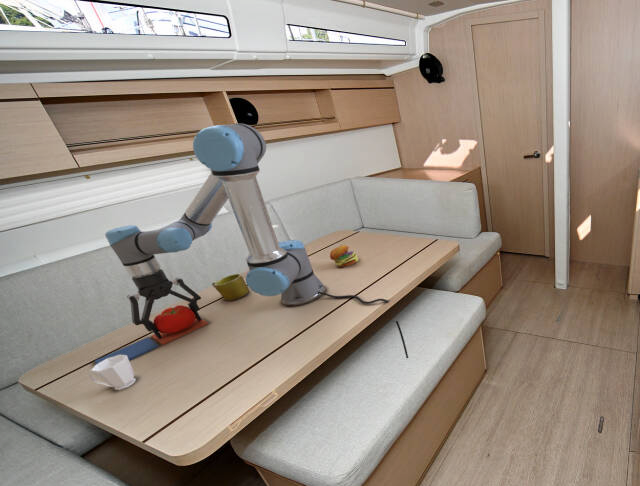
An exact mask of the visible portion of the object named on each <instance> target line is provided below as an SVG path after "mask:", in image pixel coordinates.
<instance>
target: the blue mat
mask: <svg viewBox="0 0 640 486" xmlns="http://www.w3.org/2000/svg"><path fill="white" fill-rule="evenodd" d="M157 348H159V345H158V344H157V343H156V342H155V341H153V340H152V339H150V338H149V337H145V338H143V339H141V340H138V341H136V342H134V343H131V344H130V345H127V346H124V347H123V348H120V349H118V350H115V351H114V352H111V353H108V354H106V355H104V356H102V357H100V358H97V359H95V360H94V363H95V365H96V364H98V363H100V362H102V361H103V360H105V359H107V358H110V357H114V356H117V355H127V357H128V359H129V361H131V360H134V359H136V358H138V357H140V356H143V355H144V354H147V353H148V352H151V351H153V350H155V349H157Z"/></svg>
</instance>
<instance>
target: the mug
mask: <svg viewBox="0 0 640 486" xmlns="http://www.w3.org/2000/svg"><path fill="white" fill-rule="evenodd" d="M211 285H212V287H213V288H214V289H216V291H217V292H218V293H219V294H220V295H221V297H222V299H224V300H225V301H236V300H239V299H240V298H242V297H244V296H246V295H247V294H248V293H249V292H250V288H249V287H248V285H247V283H246V280H245V279H244V277H243V276H242V274H240V273H235V274H230V275H227V276H225V277H223V278H221V279H219V280H218V279H217V280H215V281H214V282H212V283H211Z"/></svg>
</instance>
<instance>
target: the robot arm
mask: <svg viewBox="0 0 640 486" xmlns="http://www.w3.org/2000/svg"><path fill="white" fill-rule="evenodd" d="M192 149H193V153H194V155H195V157H196V158H197V160H198V161H199V163H201V164H202V165H204V166H205V167H206V168H208V169H209V170H210V171H211V173H210V174H209V176H208V177H207V178H206V180H205V182H203V184H202V186H201V188H200V189H199V191H197V193H196V195H195V197H194V198H193V199H192V201H191V203H190V204H189V205H188V206H187V208H186V209H185V212H184V213H183V214H182V215H181V217H180V218H179V219H178V220H176V221H174V222H172V223H170V224H168V225H165V226H163V227H161V228H158V229H154V230H147V231H146V230H145V231H142V230H141V229H140V228H139V227H138V226H137V225H133V224H131V225H124V226H119V227H115V228H112V229H109V230H107V231H106V232H105V238H106V240H107V242H108V244H109V247H110V248H111V249H112V250H113V252H114V253H115V255H116V256H117V257H118V259H119V261H120V262H121V264H122V266H123V267H124V269H125V270H126V272H127V274H128V276H129V277H131V280H132V282H133V284H134V285H135V287H136V288H137V292H136V293H133V294H128V295H126V298H127V299H128V301H129V302H130V310H131V322H132V323H133V324H134V325H135V326H140V325H143V327H144V328H145V329H146V330H147V332H150V333H151V332H153V333H154V334H155V335H156V337H158V338H159V339H160V338H162V336H161V335H160V333H159V331H158V330H157V328H156V327H155V325H154V324H153V322H154V321H153V320H150V318H151V313H152V309H153V306H154V304H155V301H158V300H160V299H162V298H164V297H167V296H169V295H171V296H174V297H176V298H179V299H181V300H183V301H186V302H188V303H187V307H189V308H190V309H191V310H192V311H193V312H194V314H195V316H196V317H195V318H196V319H197V320H199V321H200V320H203V319H202V317H201V316H200V314H199V312H198V311H200V310H201V308H200V306H199V305H198V301H199V300H201V299H202V297H201V295H199V294H198V293H197V292H196V291H194V290H193V289H191V288H190V287H189V286H188V285H186V283H185V282H184V280H183V278H180V277H175V279H171V280H170V279H168V277H167V275H166V273H165V271H164V269H162V268H161V267H162V266H161V265H160V263H159V261H158V259H157V257H155V255H160V254H169V253H170V254H171V253H173V254H174V253H178V252H182V251H187V250H188V249H190V248H191V245H192V243H193V242H194V241H196V240H197V239H199V238H200V237H201V238H202V237H204V236H205V235H207V233H209V232H210V231H211V230H212V228H213V222H214V219H216V217H217V215H218V214H219V212H220V211H221V210H222V208H223V207H224V206H225V204H226V203H227V201H229V203H230V207H231V209H232V211H233V214H234V217H235V219H236V222H237V224H238V228H239V230H240V232H241V235H242V238H243V240H244V243H245V246H246V248H247V251H248V253H249V254H248V255H247V257H246V259H245V261H246V264H247V267H248V269H249V270H248V272H247V273H246V276H245V283H246V285H247V287H248V288H249V290H251V291H252V292H253V293H255V294H258V295H260V296H264V297H275V296H279V295H280V300H281V302H282V304H283V305H284V306H288V307H289V306H290V307H294V306H302V305H306V304H308V303H310V302H313V301H316V300H317V299H319V298H321V297H322V296H327V297H329V298H333V299H346V298H355V299H357V300H358V301H359V302H360V303H362V304H366V305H368V304H373V303H377V302H384V303H389V301H388V300H387V299H385V298H377V299H374V300H370V301H365V300H363V299H362V298H361V297H359V296H357V295H355V294H347V295H332V294H329V293H326V288H325V285H324V283H322V281H321V280H320V279H319V278H318V276H317V275H316V274H315V272H314V270H313V266H312V264H311V261H310V258H309V256H308V252H307V250H306V247H305V245H304V243H303V241H301V240H300V239H290V240H284V241H283V240H282V241H280V242H279V240H278V238H277V235H276V232H275V229H274V226H273V223H272V220H271V217H270V214H269V211H268V207H267V205H266V203H265V200H264V197H263V193H262V190H261V188H260V185H259V182H258V179H257V175H258V174H259V173H260V169H261V168H260V167H259V162H260V161H262V159H263V158H264V156H265V154H266V151H267V142H266V140H265V138H264V136H263V134H262V133H261V132H260V131H258V129H256V128H254V127H253V126H251V125H248V124H245V123H239V122H238V123H231V124H216V125H211V126H208V127H205V128H202V129H201V130H199V131H198V132H197V133H196V135H195V136H194V138H193V141H192ZM173 285H175V286H179V287H180V288H181V289H183V290H184V291H185V292H186V293H188V294H189V295H190V296H191V297H192V298H191V297H188V296H186V295H184V294H181V293H179V292H177V291H175V290H173V289H172V288H173ZM140 297H144V299H145V300H144V305H143V311H142V314H141V317H140V307H139V300H140ZM395 324H396V326H397V329H398V331H399V335H400V338H401V342H402V345H403V346H402V347H403V349H404V354H405V359H407V358H409V354H408V351H407V346H406V343H405V338H404V334H403V332H402V329H401V326H400V323H399V321H398V320H396V321H395Z"/></svg>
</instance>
